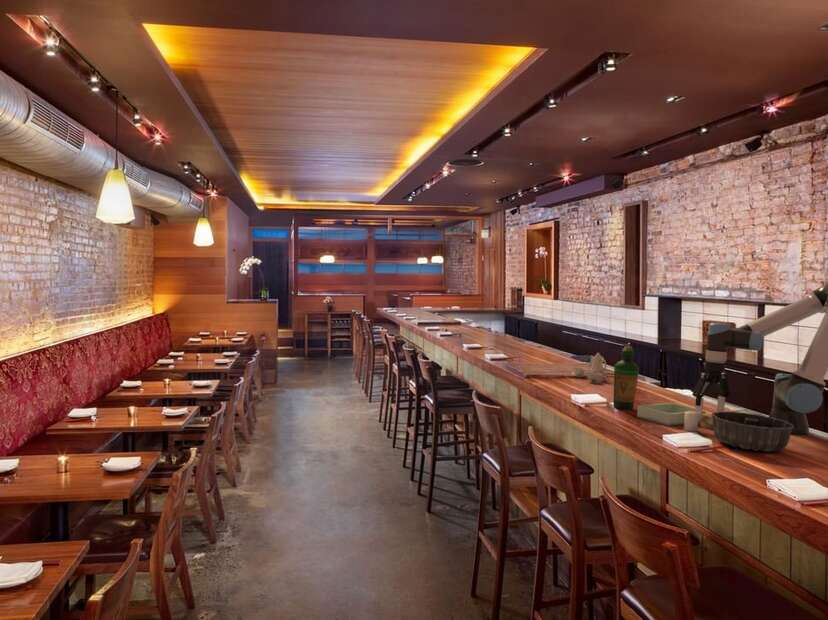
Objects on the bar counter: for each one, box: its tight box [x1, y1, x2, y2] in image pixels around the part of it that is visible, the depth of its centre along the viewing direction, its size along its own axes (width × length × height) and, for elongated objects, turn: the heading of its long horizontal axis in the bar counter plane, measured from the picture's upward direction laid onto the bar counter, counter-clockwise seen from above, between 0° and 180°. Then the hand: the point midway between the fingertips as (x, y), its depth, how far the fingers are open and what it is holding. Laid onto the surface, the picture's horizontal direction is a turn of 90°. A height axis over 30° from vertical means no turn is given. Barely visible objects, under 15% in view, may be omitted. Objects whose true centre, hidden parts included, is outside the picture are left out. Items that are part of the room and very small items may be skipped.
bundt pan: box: [711, 411, 794, 453], centre depth 221 cm, size 26×26×10 cm
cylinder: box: [683, 411, 699, 433], centre depth 241 cm, size 5×5×7 cm
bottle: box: [613, 346, 640, 411], centre depth 275 cm, size 11×11×28 cm
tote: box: [636, 402, 706, 427], centre depth 257 cm, size 16×22×5 cm
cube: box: [699, 413, 714, 430], centre depth 248 cm, size 5×5×5 cm
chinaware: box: [572, 352, 608, 384], centre depth 352 cm, size 28×17×17 cm, turn 17°
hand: (709, 413), depth 248 cm, fingers open, 13 cm apart
